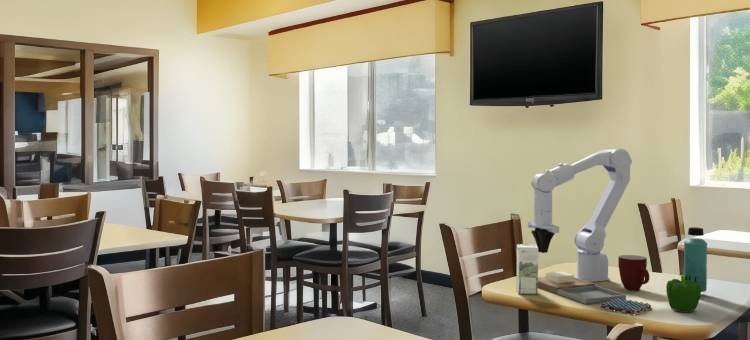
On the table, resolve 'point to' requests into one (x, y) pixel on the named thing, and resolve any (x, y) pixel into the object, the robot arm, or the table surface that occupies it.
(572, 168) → the robot arm
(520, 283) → the syrup box
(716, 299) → the table surface
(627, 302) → the woven mat
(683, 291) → the bell pepper
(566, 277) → the tile
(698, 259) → the beverage bottle
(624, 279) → the mug
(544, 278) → the brown square board
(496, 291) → the table surface
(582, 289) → the tray
